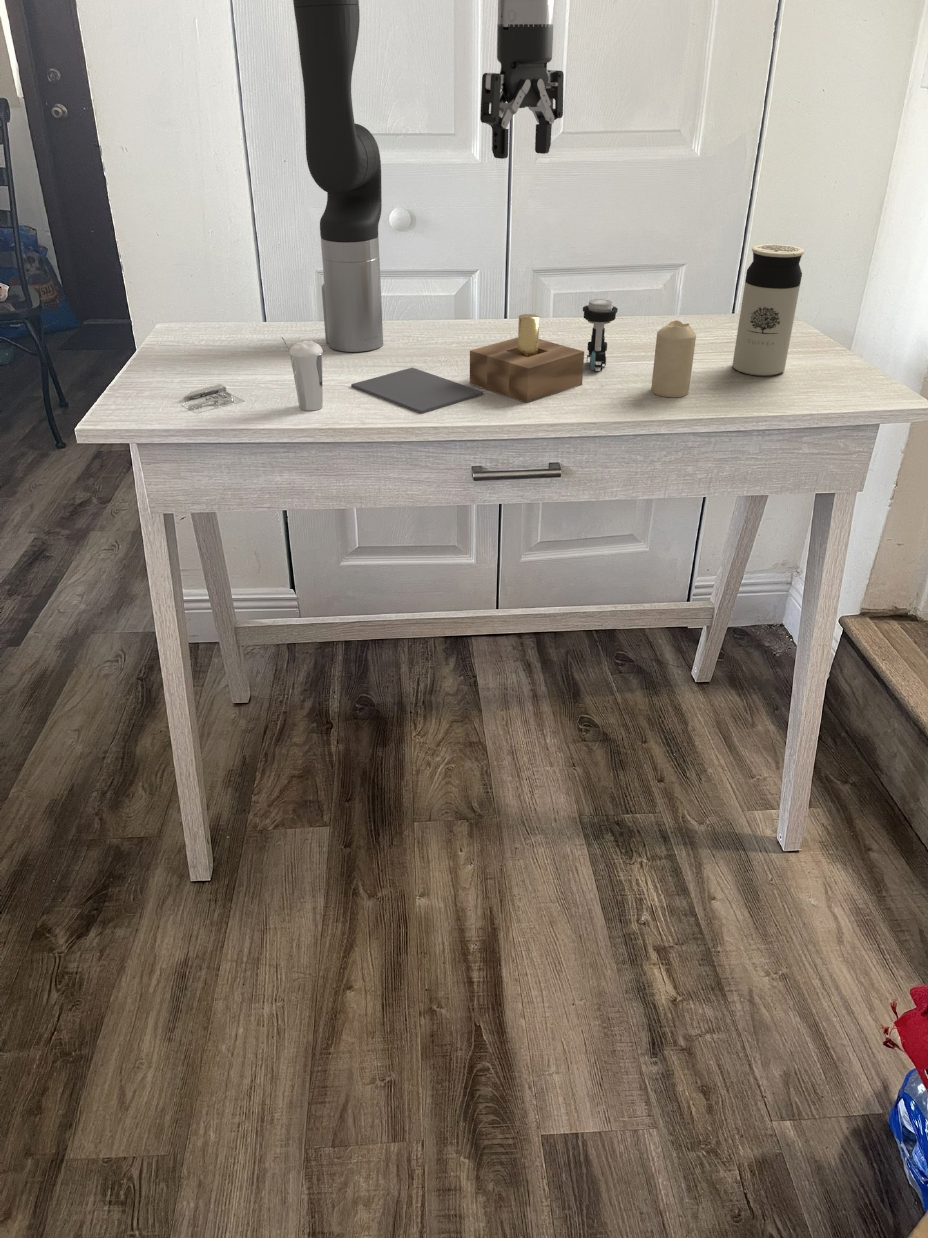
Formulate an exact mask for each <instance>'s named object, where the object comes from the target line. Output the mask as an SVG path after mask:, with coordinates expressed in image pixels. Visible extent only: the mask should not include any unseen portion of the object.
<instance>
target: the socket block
mask: <svg viewBox="0 0 928 1238" xmlns="http://www.w3.org/2000/svg"><path fill="white" fill-rule="evenodd" d="M584 361H585V351H584V350H580V349H577V348H572V347H570V346H565V345H563V344H559V343H554V342H552V341H547V340H544V339H540V338H538V354H537V355H534V356H530V357H525V356H521V355H518V336H517V337H514V338H510V339H507V340H503V341H499V342H496V343H492V344H488V345H484V346H480V347H477V348H474V349H469V384H471V385H473V386H477V387H479V388H482V389H485V390H487V391H488V390H489V391H490V392H493V393H497V394H499V395H502V396H504V397H505V396H506V397H507V398H511V399H515V400H517V401H521V402H524V403H527V404H528V403H531V402H534V401H537V400H541V399H543V398H546V397H549V396H552V395H555V394H558V393H561V392H563V391H567V390H569V389H573V388H575V387H580V386H582V385H583V376H584Z"/></svg>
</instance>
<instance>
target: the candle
mask: <svg viewBox="0 0 928 1238" xmlns="http://www.w3.org/2000/svg"><path fill="white" fill-rule="evenodd" d="M696 340H697V333H696V332H695V331H694V329H693V328H692V326H691V325H690V323H682V321H680V320H678V319H677V320H671V321H670V322H669V323H668V324H666V325H664V326H663V327H662V328H660V329H659V330H658V331H657V332H656V340H655V350H654V361H653V367H652V369H653V370H652V378H651V387H650V388H651V389H650V391H651V392H652V394H655V395H656V396H660V397H665V398H681V397H684V396H688V394H689V392H690V387H691V386H690V385H691V380H692V379H691V378H692V372H693V363H694V355H695V349H696Z"/></svg>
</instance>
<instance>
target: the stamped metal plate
mask: <svg viewBox="0 0 928 1238" xmlns="http://www.w3.org/2000/svg"><path fill="white" fill-rule="evenodd" d="M204 396H205V400H203V401H199V402H195V403H191V404H188V406H184V405H185V404H186V403H189V402H190V401H191V400H193V399H196V398H200V397H204ZM234 398H236V399H238V400H239V401H238V402H235V400H234ZM183 401H184V402H183V403H182V405H181V407H182V408H184V409H186V410H188V411H190V412H192V413H194V414H196V415H197V414H202V413H206V412H210V411H214V410H218V409H222V408H224V407H228V406H232V405H237V404H240V403H245V402H246V400H244V399H242V398H240V397H237V396H236V395H234V394H232V393H231V392H229V391H227V386H225V385H222V384H220V383H219V384H216V385H212V386H208V387H203V388H201V389H196V390H193V391H190V392H188V394H186V395H185V396H183ZM219 402H223V403H224V406H220V405H219ZM234 402H235V403H234ZM209 403H213V404H214V406H213V408H211V409H208V410H203V411H200V412H196V411H195V410H199V409H200V410H201V409H202V408H203V405H206V404H209Z"/></svg>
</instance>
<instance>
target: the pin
mask: <svg viewBox="0 0 928 1238" xmlns="http://www.w3.org/2000/svg"><path fill="white" fill-rule="evenodd" d="M517 325H518V328H517V329H518V331H517V332H518V333H517V337H518V355H521V356H525V357H530V356H534V355H537V354H538V339H540V338H539V331H540V315H537V314H534V313H533V314H532V313H526V314H523V313H522V314H520V315H518V324H517Z"/></svg>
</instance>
